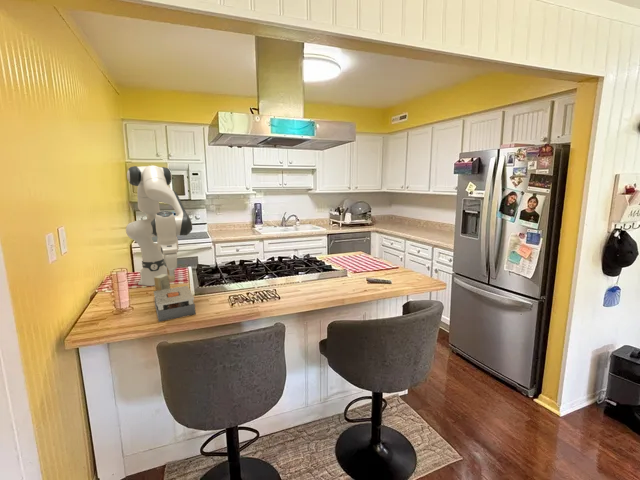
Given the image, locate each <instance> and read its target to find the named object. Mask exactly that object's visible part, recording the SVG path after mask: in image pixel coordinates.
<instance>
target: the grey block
mask: <svg viewBox="0 0 640 480" xmlns="http://www.w3.org/2000/svg"><path fill="white" fill-rule="evenodd" d="M167 274H168V281H169V283H172V282H176V274H175V270H174V276H170V274H169V270H168V268H167Z"/></svg>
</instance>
